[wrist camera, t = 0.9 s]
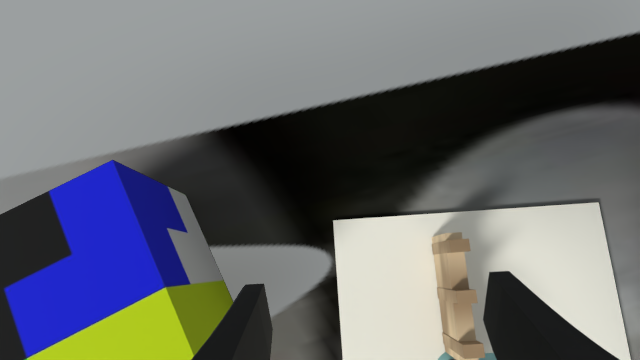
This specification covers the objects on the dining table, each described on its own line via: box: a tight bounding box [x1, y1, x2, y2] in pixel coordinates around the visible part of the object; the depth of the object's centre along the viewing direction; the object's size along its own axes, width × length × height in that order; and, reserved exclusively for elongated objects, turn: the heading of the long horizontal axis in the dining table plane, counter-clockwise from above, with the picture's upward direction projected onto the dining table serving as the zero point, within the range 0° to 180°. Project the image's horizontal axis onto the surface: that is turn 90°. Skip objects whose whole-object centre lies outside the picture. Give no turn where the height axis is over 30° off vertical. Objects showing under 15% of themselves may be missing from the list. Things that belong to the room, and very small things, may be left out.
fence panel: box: [432, 232, 485, 360], centre depth 25 cm, size 7×1×4 cm, turn 4°
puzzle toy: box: [0, 160, 233, 360], centre depth 24 cm, size 10×10×10 cm
